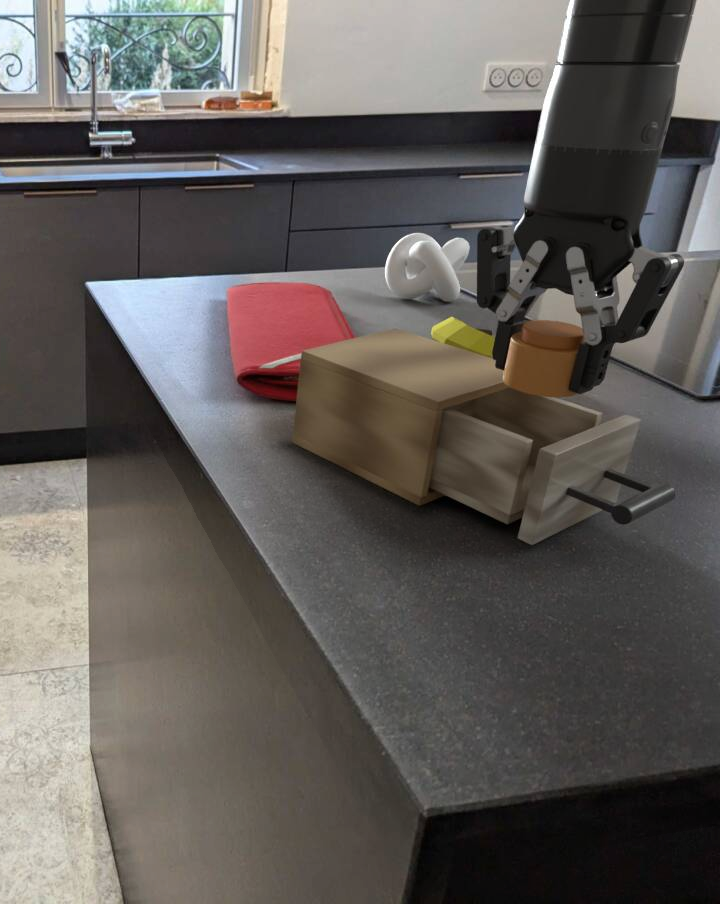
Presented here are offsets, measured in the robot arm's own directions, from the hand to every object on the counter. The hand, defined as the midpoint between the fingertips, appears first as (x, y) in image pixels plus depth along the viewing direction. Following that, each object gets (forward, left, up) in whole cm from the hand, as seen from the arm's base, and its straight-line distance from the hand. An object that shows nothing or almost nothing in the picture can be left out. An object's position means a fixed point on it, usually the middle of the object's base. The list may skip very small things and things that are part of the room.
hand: (542, 378), depth 62 cm
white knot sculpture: (-49, -46, -11) cm, 68 cm away
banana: (-31, -22, -11) cm, 40 cm away
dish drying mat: (-14, -41, -11) cm, 44 cm away
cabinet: (0, -11, -11) cm, 16 cm away
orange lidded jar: (0, 0, -1) cm, 1 cm away
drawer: (0, +1, -10) cm, 10 cm away
